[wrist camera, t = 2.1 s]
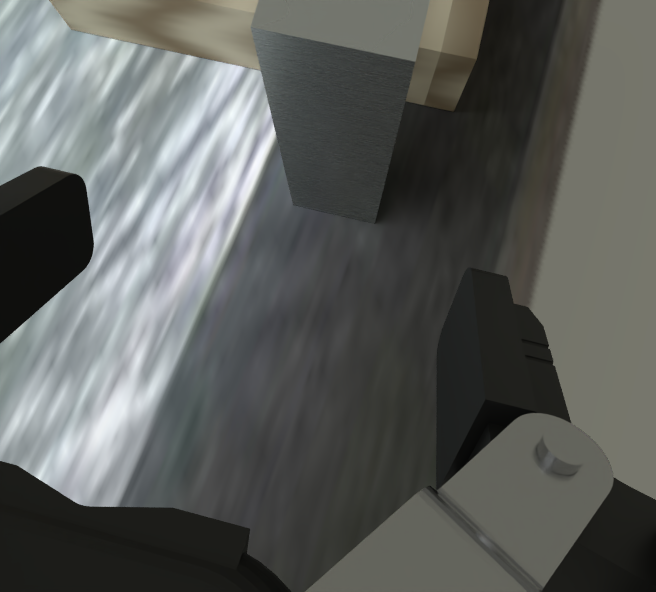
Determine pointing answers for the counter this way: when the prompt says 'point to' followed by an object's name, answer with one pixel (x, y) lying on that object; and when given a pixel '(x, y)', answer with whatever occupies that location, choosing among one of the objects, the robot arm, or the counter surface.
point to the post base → (239, 49)
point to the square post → (337, 93)
